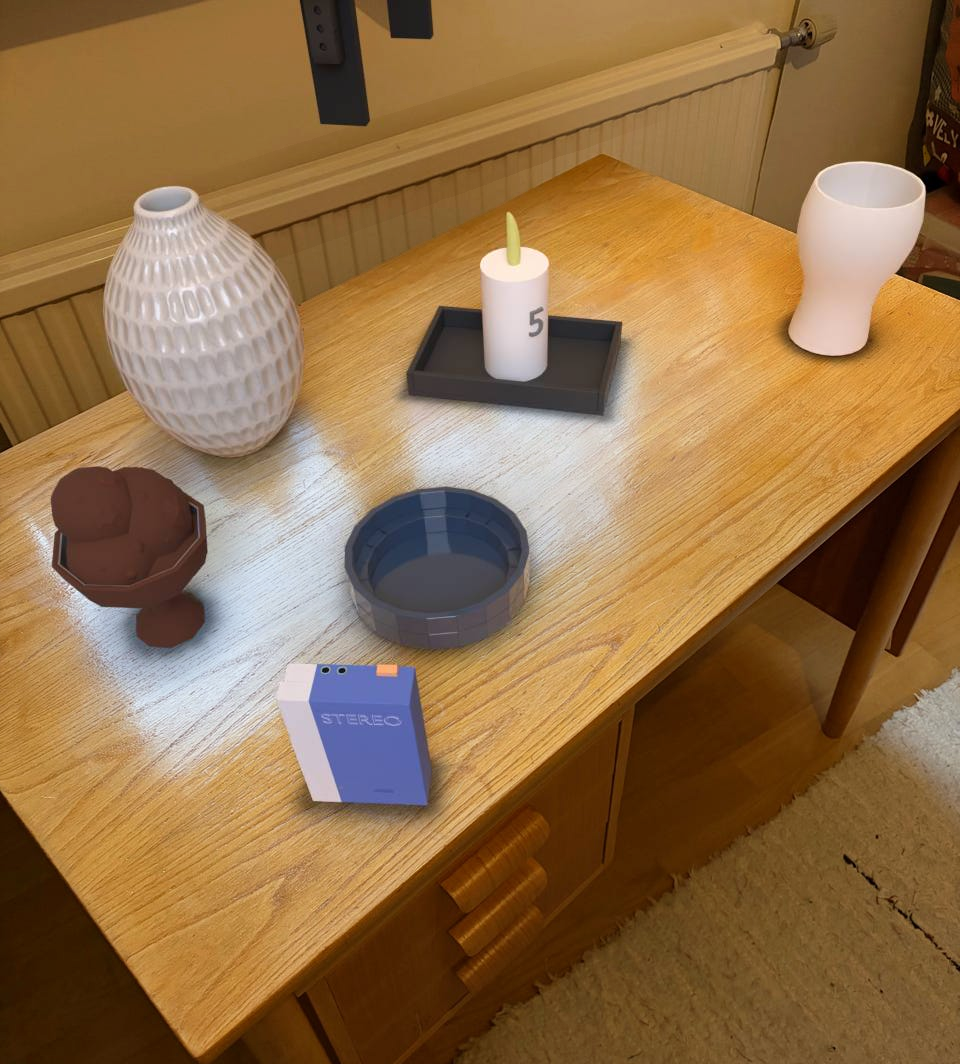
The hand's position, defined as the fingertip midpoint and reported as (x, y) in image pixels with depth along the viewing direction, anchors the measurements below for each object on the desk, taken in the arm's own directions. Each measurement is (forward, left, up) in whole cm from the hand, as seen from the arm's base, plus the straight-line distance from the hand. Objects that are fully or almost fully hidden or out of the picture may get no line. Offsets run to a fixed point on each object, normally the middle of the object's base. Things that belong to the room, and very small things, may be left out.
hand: (381, 77), depth 55 cm
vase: (+20, -4, -33) cm, 39 cm away
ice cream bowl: (+16, +19, -33) cm, 41 cm away
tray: (-4, -19, -33) cm, 38 cm away
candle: (-4, -19, -32) cm, 38 cm away
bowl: (-4, +11, -33) cm, 35 cm away
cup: (-34, -30, -33) cm, 56 cm away
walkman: (-4, +30, -33) cm, 45 cm away
